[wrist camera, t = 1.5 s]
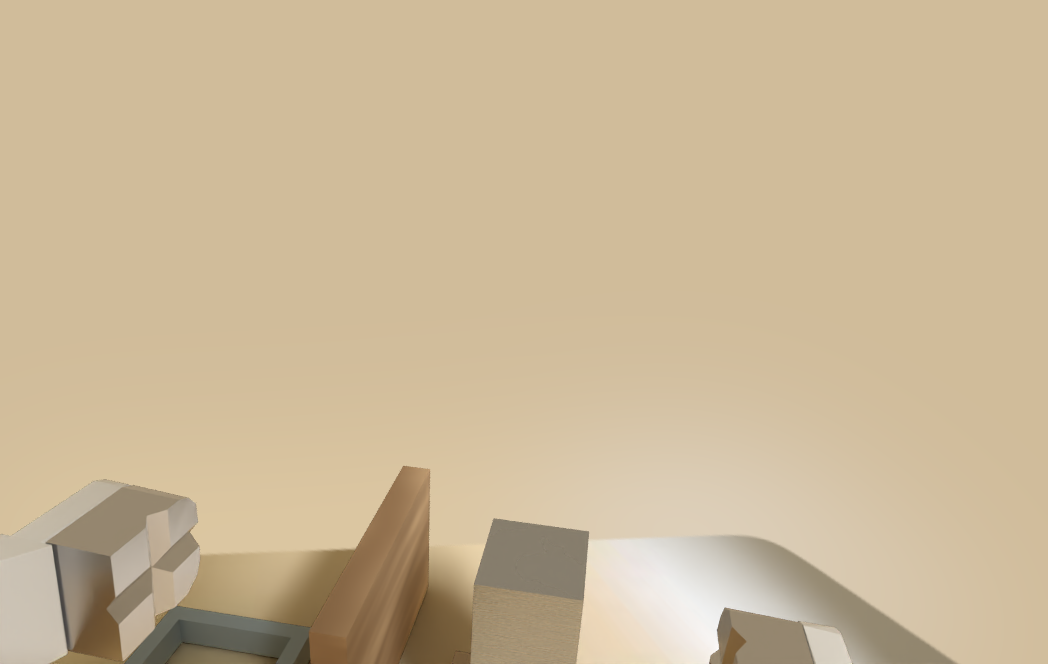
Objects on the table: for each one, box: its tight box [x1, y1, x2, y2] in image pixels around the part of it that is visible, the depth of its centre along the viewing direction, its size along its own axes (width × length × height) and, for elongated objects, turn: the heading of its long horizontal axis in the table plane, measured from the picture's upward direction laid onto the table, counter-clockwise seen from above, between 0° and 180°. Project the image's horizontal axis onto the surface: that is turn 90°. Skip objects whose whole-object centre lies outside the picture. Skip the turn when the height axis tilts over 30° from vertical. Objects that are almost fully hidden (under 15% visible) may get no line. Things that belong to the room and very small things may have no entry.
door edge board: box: [309, 466, 430, 664], centre depth 33 cm, size 2×12×8 cm, turn 172°
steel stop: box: [470, 519, 589, 664], centre depth 28 cm, size 4×4×11 cm
